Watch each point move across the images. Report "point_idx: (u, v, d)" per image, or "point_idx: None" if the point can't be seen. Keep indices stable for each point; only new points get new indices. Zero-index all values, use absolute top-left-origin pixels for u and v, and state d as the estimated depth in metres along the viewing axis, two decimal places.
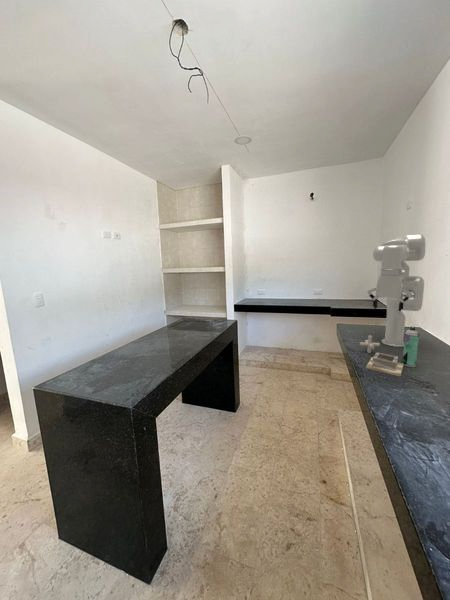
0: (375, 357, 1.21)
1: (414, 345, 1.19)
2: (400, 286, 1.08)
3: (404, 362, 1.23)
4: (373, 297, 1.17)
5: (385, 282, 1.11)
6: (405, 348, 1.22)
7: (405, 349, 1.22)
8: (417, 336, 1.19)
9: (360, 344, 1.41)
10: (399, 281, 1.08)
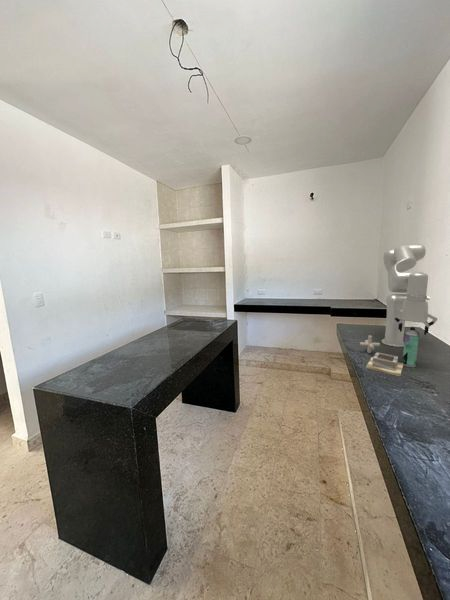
0: (375, 357, 1.21)
1: (414, 345, 1.19)
2: (426, 311, 1.14)
3: (404, 362, 1.23)
4: (398, 320, 1.23)
5: (411, 307, 1.17)
6: (405, 348, 1.22)
7: (405, 349, 1.22)
8: (417, 336, 1.19)
9: (360, 344, 1.41)
10: (425, 307, 1.14)
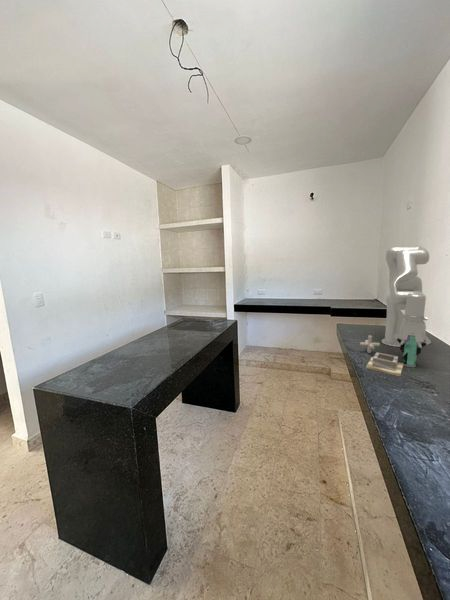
0: (375, 357, 1.21)
1: (414, 345, 1.19)
2: (423, 332, 1.16)
3: (404, 362, 1.23)
4: (400, 341, 1.24)
5: (409, 327, 1.19)
6: (405, 348, 1.22)
7: (405, 349, 1.22)
8: None
9: (360, 344, 1.41)
10: (422, 327, 1.16)
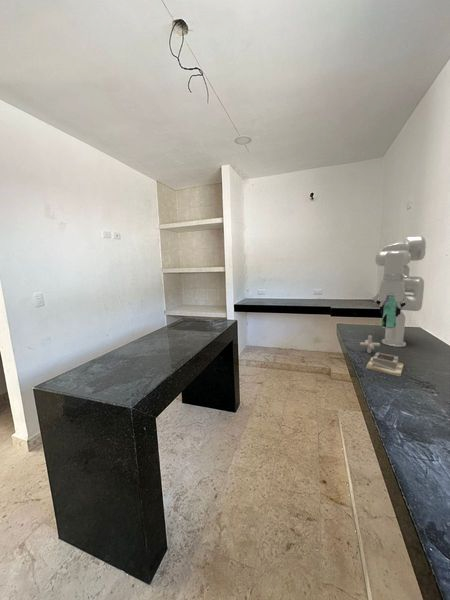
0: (375, 357, 1.21)
1: (393, 306, 1.14)
2: (402, 291, 1.11)
3: (383, 325, 1.18)
4: (380, 303, 1.19)
5: (387, 287, 1.14)
6: (384, 310, 1.17)
7: (384, 311, 1.17)
8: None
9: (360, 344, 1.41)
10: (401, 286, 1.11)
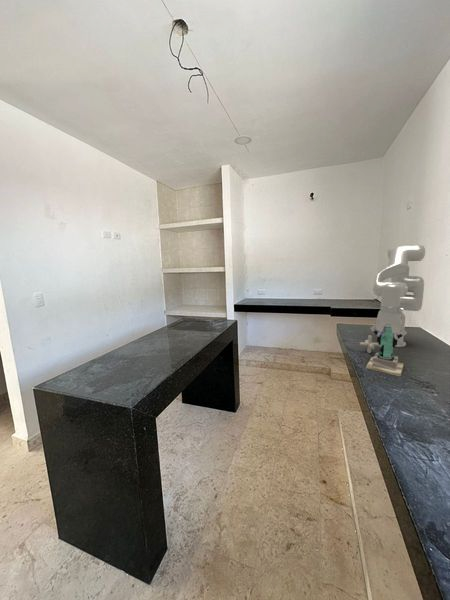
0: (375, 357, 1.21)
1: (390, 337, 1.17)
2: (399, 323, 1.14)
3: (381, 354, 1.21)
4: (377, 333, 1.22)
5: (384, 318, 1.17)
6: (381, 340, 1.20)
7: (381, 341, 1.20)
8: None
9: (360, 344, 1.41)
10: (398, 318, 1.14)
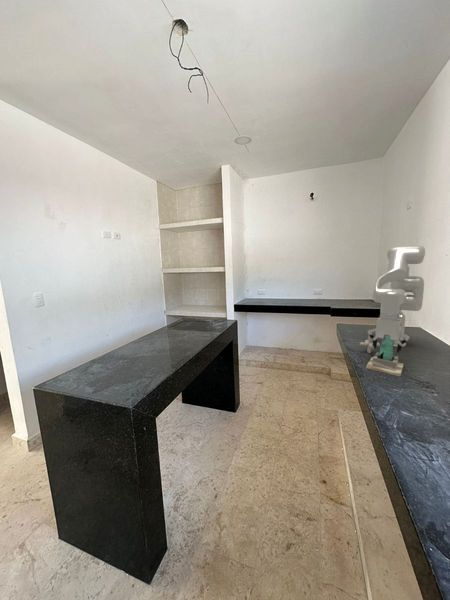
0: (375, 357, 1.21)
1: (389, 345, 1.18)
2: (398, 330, 1.15)
3: None
4: (373, 337, 1.23)
5: (384, 325, 1.18)
6: (381, 348, 1.21)
7: (381, 349, 1.21)
8: None
9: (360, 344, 1.41)
10: (397, 325, 1.14)
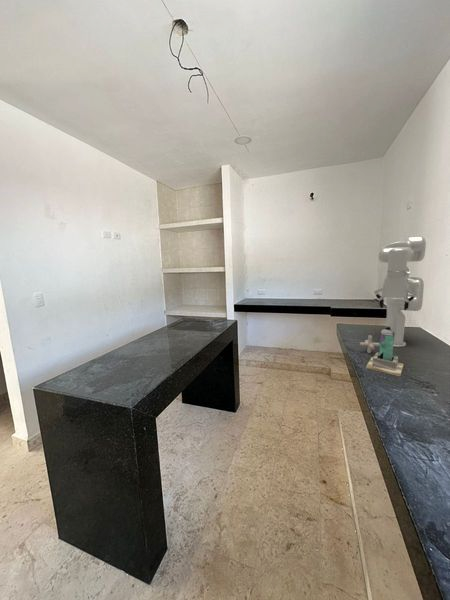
0: (375, 357, 1.21)
1: (389, 345, 1.18)
2: (405, 287, 1.14)
3: None
4: (379, 297, 1.23)
5: (391, 283, 1.17)
6: (381, 348, 1.21)
7: (381, 349, 1.21)
8: (392, 336, 1.17)
9: (360, 344, 1.41)
10: (404, 282, 1.14)
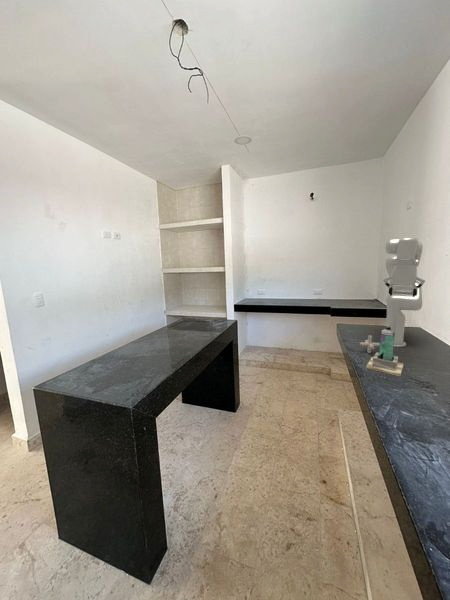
0: (375, 357, 1.21)
1: (389, 345, 1.18)
2: (414, 274, 1.20)
3: None
4: (389, 285, 1.29)
5: (400, 271, 1.23)
6: (381, 348, 1.21)
7: (381, 349, 1.21)
8: (392, 336, 1.17)
9: (360, 344, 1.41)
10: (413, 270, 1.20)
